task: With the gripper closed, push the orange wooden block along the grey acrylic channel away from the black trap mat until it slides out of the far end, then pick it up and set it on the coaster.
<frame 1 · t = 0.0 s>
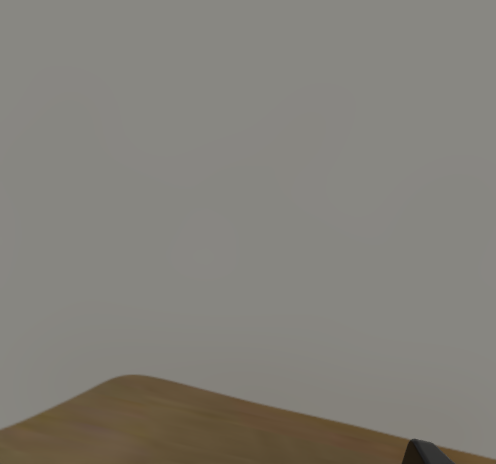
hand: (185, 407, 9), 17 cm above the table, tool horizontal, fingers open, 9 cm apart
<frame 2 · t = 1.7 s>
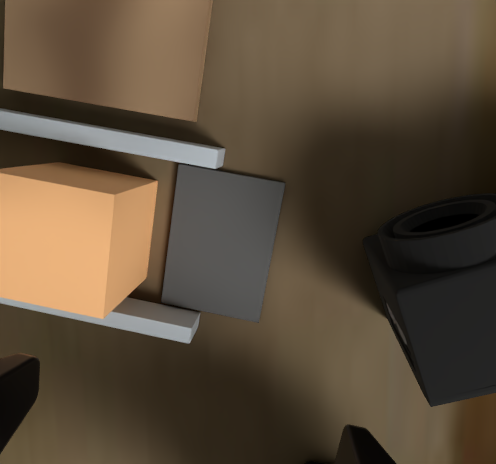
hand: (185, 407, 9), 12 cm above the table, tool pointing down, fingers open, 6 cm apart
block: (104, 220, 21), on the table
digital camera: (481, 232, 19), on the table
channel: (74, 215, 21), on the table
trap mat: (221, 244, 20), on the table
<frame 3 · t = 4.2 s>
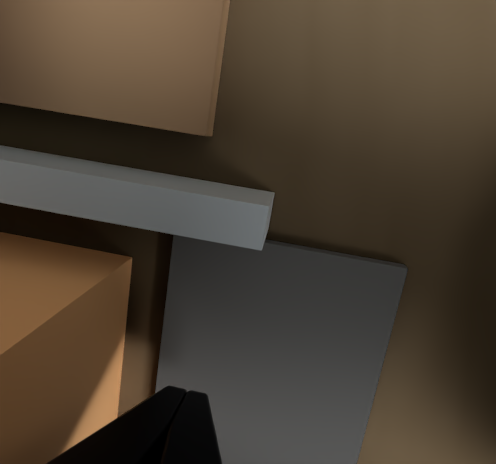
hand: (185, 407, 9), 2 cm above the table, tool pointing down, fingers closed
block: (29, 331, 11), on the table, touching gripper
trap mat: (263, 382, 10), on the table
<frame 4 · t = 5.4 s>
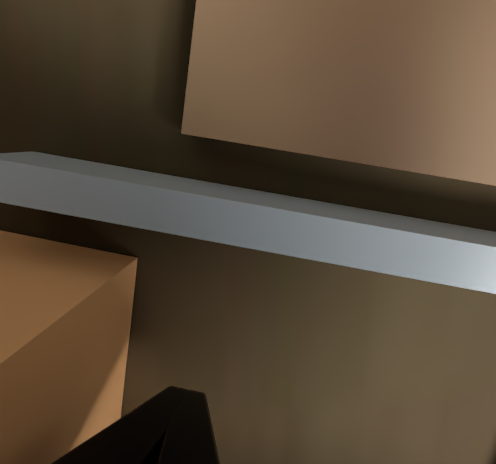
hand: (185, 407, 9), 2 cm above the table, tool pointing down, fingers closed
block: (32, 332, 10), on the table, touching gripper
channel: (302, 389, 10), on the table
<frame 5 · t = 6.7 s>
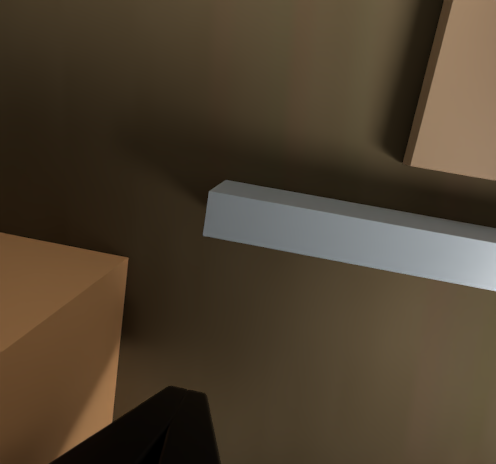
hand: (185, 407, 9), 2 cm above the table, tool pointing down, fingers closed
block: (22, 333, 10), on the table, touching gripper
channel: (495, 430, 10), on the table
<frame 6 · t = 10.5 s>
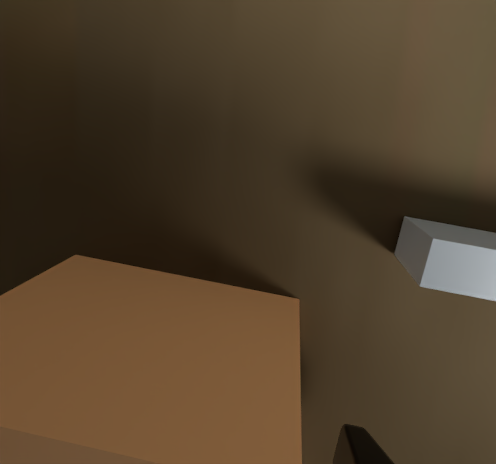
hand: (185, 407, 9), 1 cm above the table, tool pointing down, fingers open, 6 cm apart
block: (171, 376, 10), on the table, touching gripper
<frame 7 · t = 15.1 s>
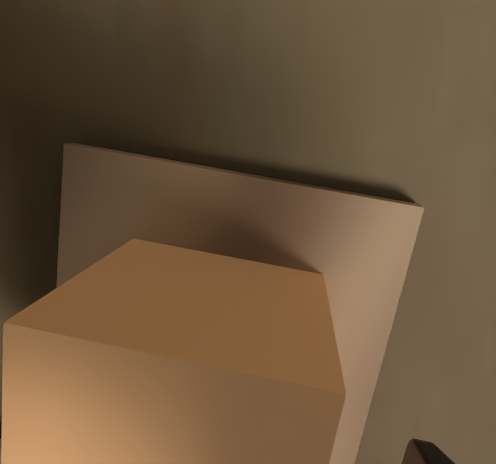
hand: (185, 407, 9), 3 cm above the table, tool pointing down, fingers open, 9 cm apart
block: (213, 342, 11), point 1 cm above the table, touching coaster
coaster: (216, 328, 12), on the table
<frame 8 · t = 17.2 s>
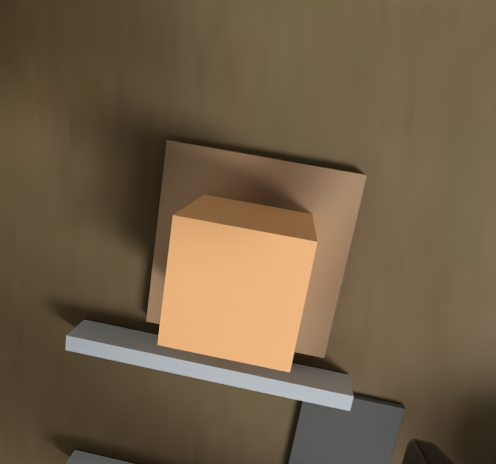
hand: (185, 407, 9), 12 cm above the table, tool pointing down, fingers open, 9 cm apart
block: (248, 256, 20), point 1 cm above the table, touching coaster
coaster: (249, 250, 20), on the table
channel: (201, 421, 23), on the table
trap mat: (339, 451, 22), on the table
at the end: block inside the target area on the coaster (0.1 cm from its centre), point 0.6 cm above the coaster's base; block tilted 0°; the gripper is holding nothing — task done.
